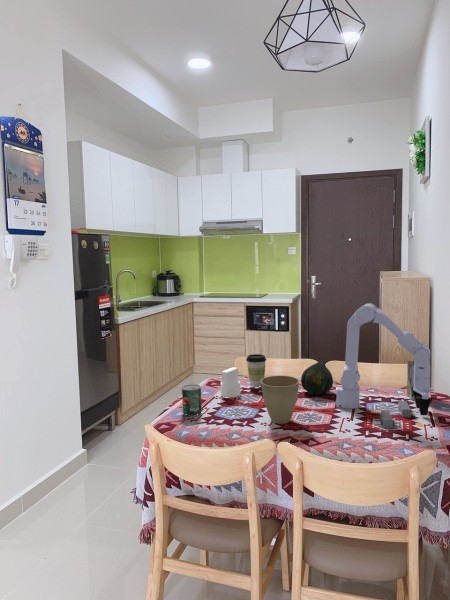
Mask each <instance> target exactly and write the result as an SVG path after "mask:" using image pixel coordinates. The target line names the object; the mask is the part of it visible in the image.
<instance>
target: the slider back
mask: <svg viewBox="0 0 450 600" xmlns="http://www.w3.org/2000/svg"><path fill="white" fill-rule="evenodd" d="M397 404H398V405H397V406H398V411H399V413H400V414H401V417H402V418H412V414H411V412H412V410H411V408H410V405H409V404H408V402H407V400H398V403H397Z"/></svg>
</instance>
